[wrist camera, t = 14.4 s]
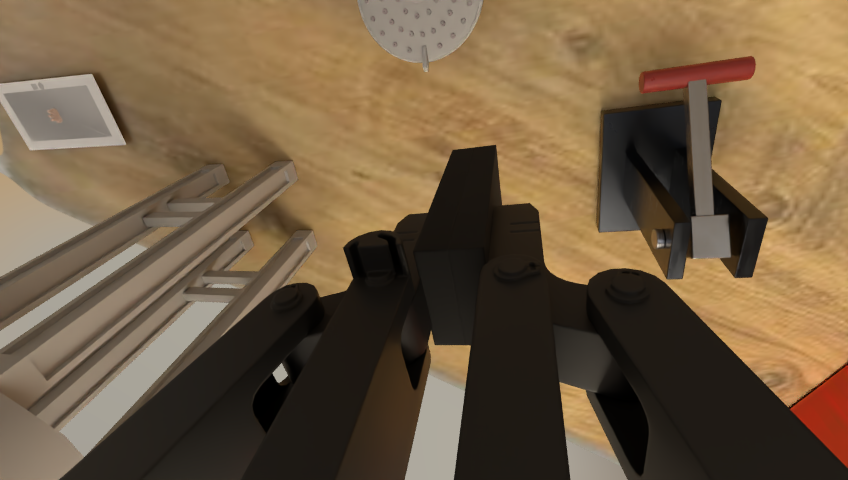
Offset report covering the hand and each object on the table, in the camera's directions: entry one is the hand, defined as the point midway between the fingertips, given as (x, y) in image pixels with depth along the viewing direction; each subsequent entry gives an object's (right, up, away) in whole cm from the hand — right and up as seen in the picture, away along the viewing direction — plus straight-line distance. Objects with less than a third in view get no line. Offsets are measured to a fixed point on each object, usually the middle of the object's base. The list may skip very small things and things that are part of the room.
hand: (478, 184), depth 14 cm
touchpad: (-45, +13, +34) cm, 57 cm away
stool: (-22, +2, +35) cm, 41 cm away
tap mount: (+20, +5, +24) cm, 31 cm away
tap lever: (+17, +3, +14) cm, 22 cm away
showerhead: (-1, +19, +20) cm, 28 cm away
